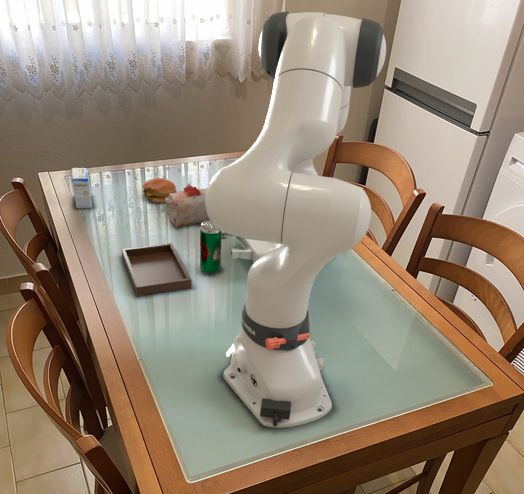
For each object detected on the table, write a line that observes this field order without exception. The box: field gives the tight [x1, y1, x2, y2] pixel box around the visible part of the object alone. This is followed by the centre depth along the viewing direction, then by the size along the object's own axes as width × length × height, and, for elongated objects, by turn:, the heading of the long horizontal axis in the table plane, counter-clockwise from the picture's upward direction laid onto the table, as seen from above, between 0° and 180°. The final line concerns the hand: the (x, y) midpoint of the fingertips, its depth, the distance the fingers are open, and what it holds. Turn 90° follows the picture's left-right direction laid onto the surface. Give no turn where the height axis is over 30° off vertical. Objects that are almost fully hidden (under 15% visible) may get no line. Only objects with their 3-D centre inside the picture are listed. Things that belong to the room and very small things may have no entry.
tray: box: [121, 242, 192, 297], centre depth 127 cm, size 18×13×2 cm
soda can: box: [199, 221, 222, 275], centre depth 126 cm, size 5×5×12 cm
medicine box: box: [70, 167, 93, 209], centre depth 150 cm, size 8×4×9 cm, turn 17°
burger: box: [142, 177, 177, 204], centre depth 158 cm, size 10×9×5 cm
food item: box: [165, 183, 210, 228], centre depth 146 cm, size 14×8×10 cm, turn 117°
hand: (224, 244), depth 127 cm, fingers open, 8 cm apart
